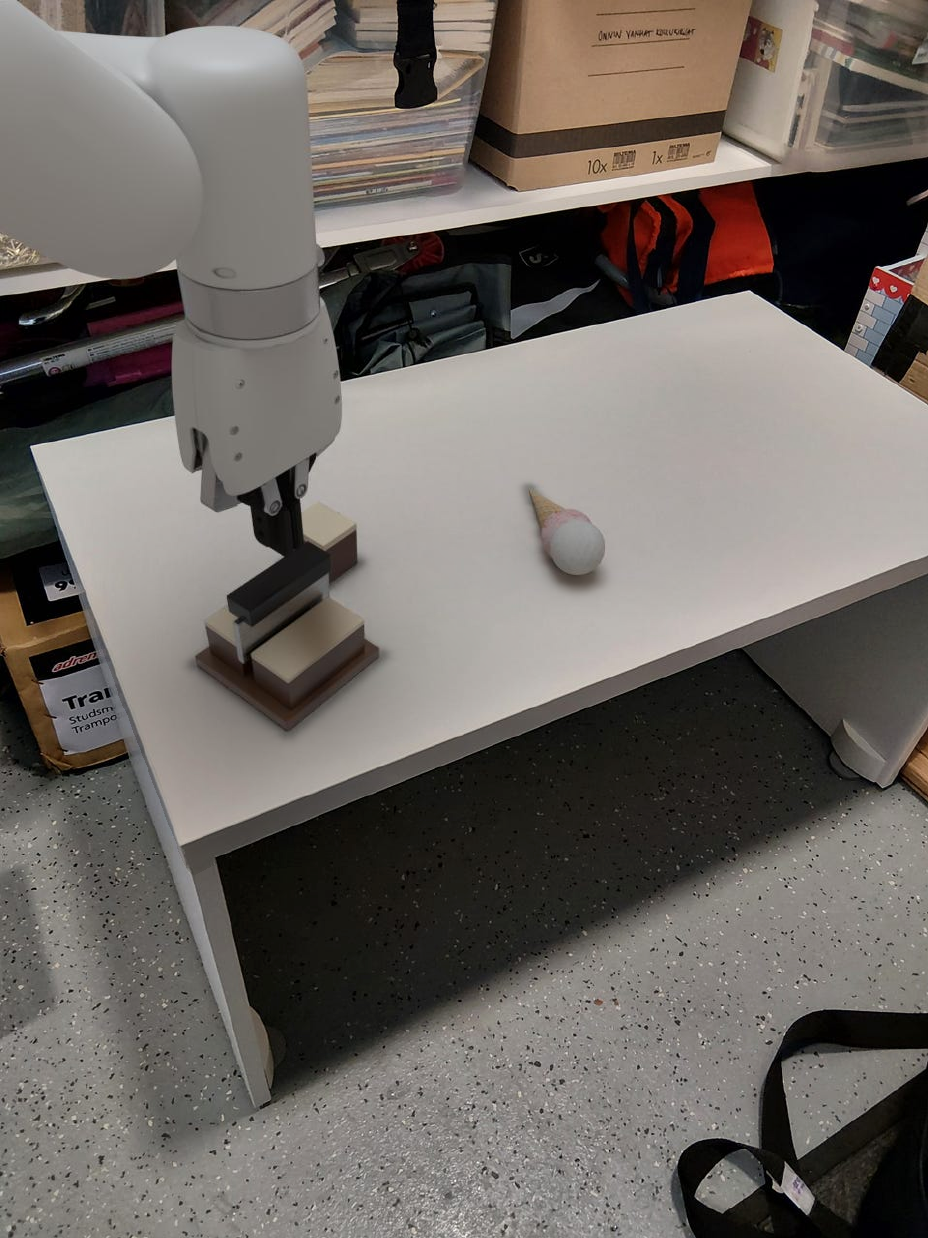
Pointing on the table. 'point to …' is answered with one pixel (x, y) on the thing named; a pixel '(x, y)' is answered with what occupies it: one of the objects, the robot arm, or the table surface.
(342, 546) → the two-tone brown cube
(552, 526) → the ice cream cone
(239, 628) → the black and silver bar
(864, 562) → the table surface
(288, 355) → the robot arm
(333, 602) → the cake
